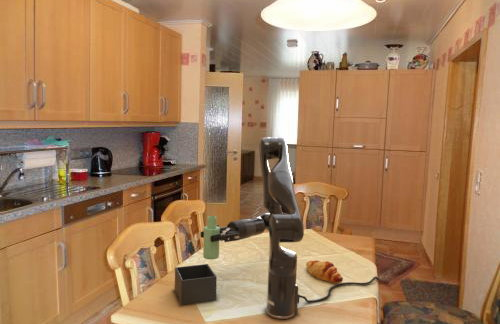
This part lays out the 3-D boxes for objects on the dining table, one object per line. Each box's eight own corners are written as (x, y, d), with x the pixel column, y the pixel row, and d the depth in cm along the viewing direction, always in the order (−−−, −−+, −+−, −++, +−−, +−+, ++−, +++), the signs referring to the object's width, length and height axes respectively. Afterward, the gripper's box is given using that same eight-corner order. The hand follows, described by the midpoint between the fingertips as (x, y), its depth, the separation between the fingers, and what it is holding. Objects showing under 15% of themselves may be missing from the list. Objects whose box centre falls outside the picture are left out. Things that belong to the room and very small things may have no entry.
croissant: (301, 275, 167) (295, 261, 165) (317, 261, 172) (311, 247, 169) (336, 294, 149) (330, 278, 147) (353, 278, 154) (347, 262, 151)
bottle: (216, 253, 148) (217, 214, 146) (220, 258, 142) (221, 218, 141) (201, 254, 146) (202, 215, 144) (205, 260, 140) (206, 219, 139)
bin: (207, 285, 147) (207, 263, 146) (216, 300, 135) (216, 276, 134) (174, 289, 142) (175, 267, 141) (181, 305, 131) (181, 280, 130)
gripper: (230, 216, 157) (195, 222, 146) (254, 224, 146) (217, 231, 136) (230, 234, 158) (194, 241, 147) (253, 243, 147) (217, 252, 136)
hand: (206, 236), depth 141 cm, fingers closed on bottle, 5 cm apart
